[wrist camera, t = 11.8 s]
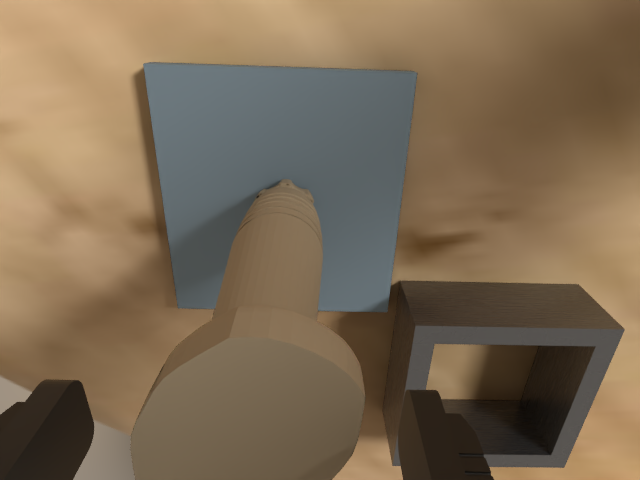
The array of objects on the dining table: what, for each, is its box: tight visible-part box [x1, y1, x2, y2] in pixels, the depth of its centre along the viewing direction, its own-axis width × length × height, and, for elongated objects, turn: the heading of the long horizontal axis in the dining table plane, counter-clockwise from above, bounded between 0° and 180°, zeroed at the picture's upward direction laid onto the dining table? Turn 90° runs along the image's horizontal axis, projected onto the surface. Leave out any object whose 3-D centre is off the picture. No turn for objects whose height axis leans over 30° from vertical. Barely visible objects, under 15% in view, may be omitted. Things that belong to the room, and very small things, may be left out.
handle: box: [131, 179, 365, 480], centre depth 17 cm, size 5×6×15 cm
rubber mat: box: [143, 62, 417, 312], centre depth 24 cm, size 14×13×1 cm
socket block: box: [383, 281, 625, 468], centre depth 27 cm, size 11×11×4 cm
